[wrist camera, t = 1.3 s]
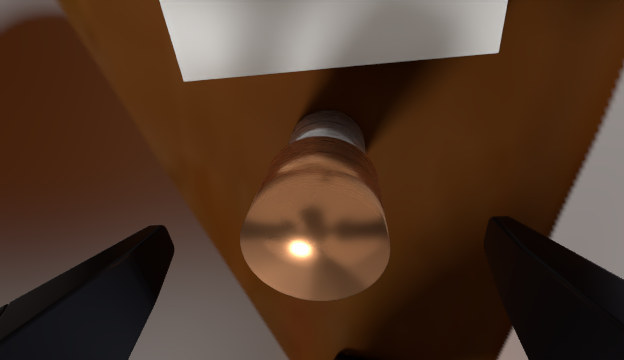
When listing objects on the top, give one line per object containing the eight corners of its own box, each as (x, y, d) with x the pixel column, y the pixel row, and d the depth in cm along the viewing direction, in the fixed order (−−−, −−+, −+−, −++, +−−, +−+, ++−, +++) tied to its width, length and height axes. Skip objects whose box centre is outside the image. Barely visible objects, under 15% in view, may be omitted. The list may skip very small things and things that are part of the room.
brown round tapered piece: (353, 192, 15) (358, 314, 9) (275, 169, 14) (230, 279, 9) (385, 118, 13) (416, 214, 7) (295, 90, 12) (254, 166, 7)
